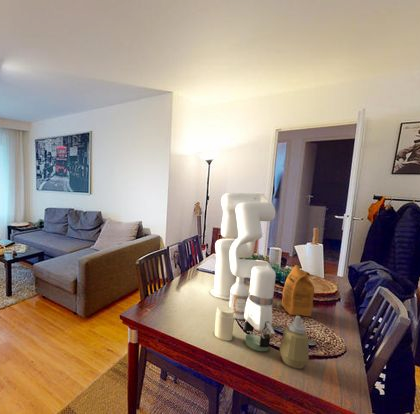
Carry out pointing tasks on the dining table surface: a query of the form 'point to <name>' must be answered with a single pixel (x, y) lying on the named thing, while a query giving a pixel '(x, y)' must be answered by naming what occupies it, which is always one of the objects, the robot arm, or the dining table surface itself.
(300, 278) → the coffee package
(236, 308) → the bath foam
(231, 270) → the robot arm
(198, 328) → the dining table surface
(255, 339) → the lid
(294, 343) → the squeeze bottle
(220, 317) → the jar
